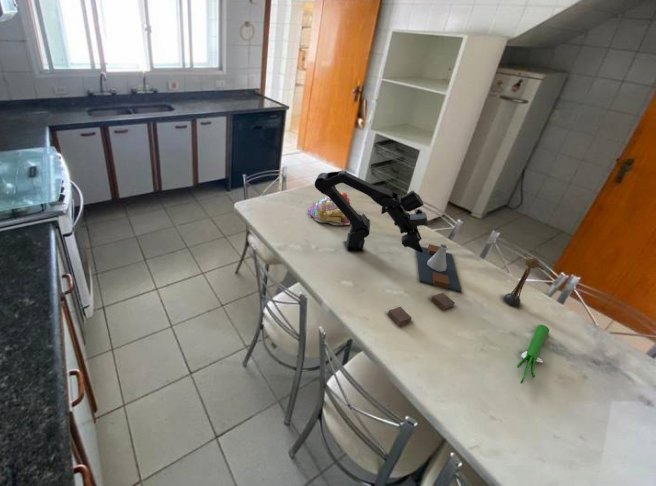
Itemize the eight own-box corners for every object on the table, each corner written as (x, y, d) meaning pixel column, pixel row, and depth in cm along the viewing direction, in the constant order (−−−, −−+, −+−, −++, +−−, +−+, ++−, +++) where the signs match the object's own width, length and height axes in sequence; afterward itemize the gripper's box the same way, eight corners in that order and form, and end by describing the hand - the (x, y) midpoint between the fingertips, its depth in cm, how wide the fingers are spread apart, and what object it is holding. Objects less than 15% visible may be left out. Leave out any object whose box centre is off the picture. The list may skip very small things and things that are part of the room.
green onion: (533, 328, 109) (509, 380, 91) (538, 321, 108) (514, 372, 89) (551, 338, 106) (530, 394, 87) (556, 331, 105) (535, 386, 86)
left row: (387, 314, 111) (389, 310, 110) (441, 296, 120) (442, 292, 119) (398, 326, 107) (400, 321, 106) (453, 306, 115) (454, 302, 115)
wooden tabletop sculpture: (525, 306, 117) (550, 262, 108) (518, 310, 115) (543, 266, 106) (507, 295, 122) (529, 251, 113) (500, 299, 120) (523, 255, 111)
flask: (449, 267, 133) (457, 247, 129) (440, 274, 129) (448, 254, 125) (432, 258, 138) (439, 238, 134) (423, 264, 134) (430, 244, 130)
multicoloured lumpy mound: (360, 228, 158) (364, 211, 154) (311, 225, 158) (314, 209, 154) (348, 203, 180) (351, 188, 176) (305, 200, 180) (307, 185, 176)
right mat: (419, 282, 126) (421, 277, 124) (416, 246, 147) (417, 241, 145) (460, 293, 121) (463, 287, 120) (450, 254, 142) (453, 249, 141)
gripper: (420, 218, 119) (444, 251, 120) (417, 196, 134) (438, 225, 136) (392, 231, 125) (415, 262, 126) (392, 208, 140) (413, 236, 142)
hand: (421, 245), depth 132 cm, fingers open, 9 cm apart
